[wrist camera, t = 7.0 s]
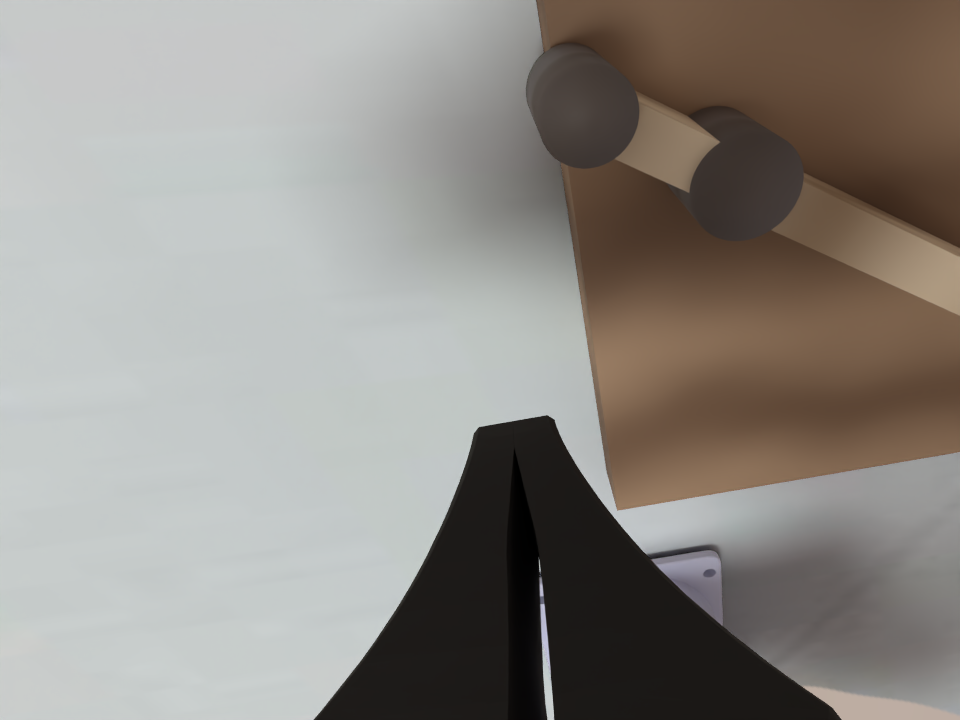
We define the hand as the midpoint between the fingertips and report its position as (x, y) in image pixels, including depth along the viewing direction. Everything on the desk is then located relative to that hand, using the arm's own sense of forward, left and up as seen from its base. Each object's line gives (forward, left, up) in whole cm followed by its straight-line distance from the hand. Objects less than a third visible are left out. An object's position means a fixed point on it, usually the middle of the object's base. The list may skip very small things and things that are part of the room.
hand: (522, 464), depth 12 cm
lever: (+1, -8, -8) cm, 11 cm away
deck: (-1, -9, -10) cm, 13 cm away
